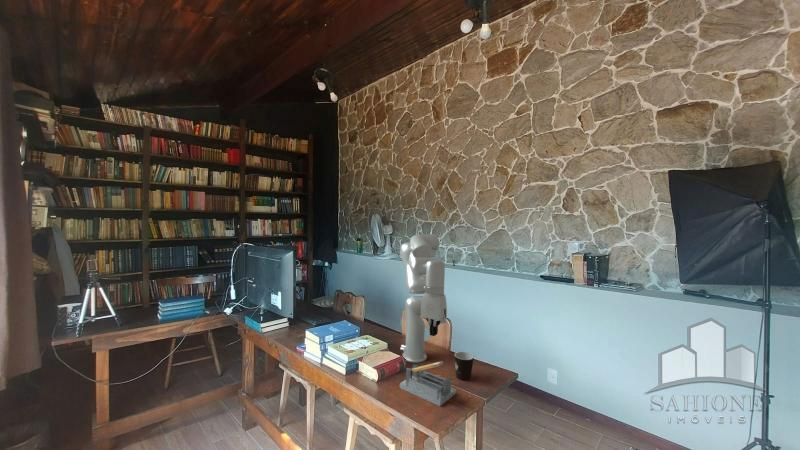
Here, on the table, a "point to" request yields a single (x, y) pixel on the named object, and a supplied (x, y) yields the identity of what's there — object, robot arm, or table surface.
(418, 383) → the grey slotted holder
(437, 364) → the tan rectangular bar
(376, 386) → the table surface
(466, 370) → the coffee mug
